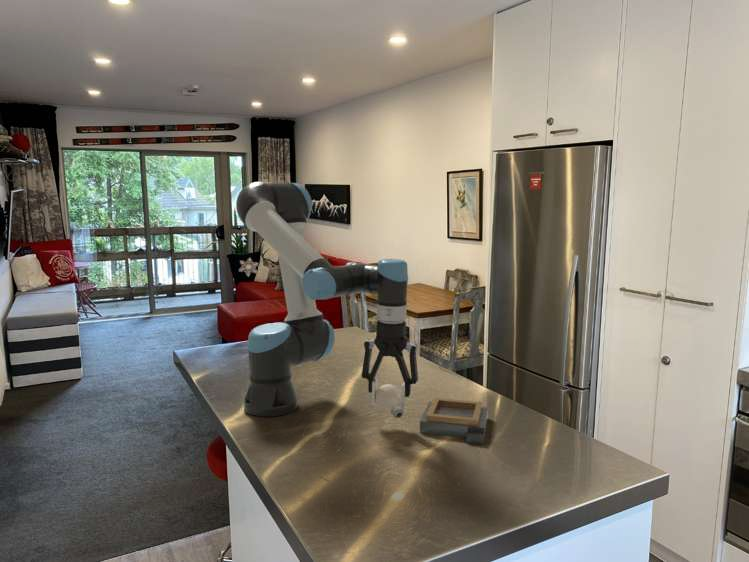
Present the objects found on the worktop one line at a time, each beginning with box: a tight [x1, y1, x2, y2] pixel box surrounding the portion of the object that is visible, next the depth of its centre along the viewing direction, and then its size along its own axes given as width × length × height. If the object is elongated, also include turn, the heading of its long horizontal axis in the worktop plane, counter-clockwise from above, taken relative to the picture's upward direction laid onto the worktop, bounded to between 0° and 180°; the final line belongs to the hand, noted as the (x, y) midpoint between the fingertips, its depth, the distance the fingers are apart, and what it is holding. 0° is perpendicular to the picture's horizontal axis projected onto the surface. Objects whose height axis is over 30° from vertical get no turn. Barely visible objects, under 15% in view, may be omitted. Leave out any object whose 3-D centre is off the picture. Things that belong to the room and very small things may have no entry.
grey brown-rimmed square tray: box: [419, 397, 489, 445], centre depth 145 cm, size 16×21×4 cm
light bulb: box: [375, 383, 404, 419], centre depth 142 cm, size 7×7×11 cm
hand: (388, 405), depth 144 cm, fingers closed on light bulb, 7 cm apart
